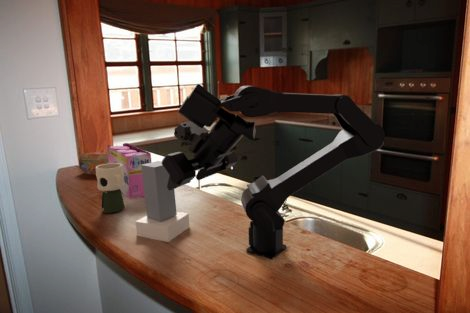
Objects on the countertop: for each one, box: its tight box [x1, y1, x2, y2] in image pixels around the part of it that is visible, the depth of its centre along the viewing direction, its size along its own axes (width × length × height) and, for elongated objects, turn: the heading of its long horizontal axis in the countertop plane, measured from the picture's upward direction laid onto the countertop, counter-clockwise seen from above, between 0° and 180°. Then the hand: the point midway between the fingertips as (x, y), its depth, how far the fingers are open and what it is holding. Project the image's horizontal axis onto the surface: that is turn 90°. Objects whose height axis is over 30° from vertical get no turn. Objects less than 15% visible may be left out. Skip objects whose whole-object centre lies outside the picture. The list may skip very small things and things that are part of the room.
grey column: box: [141, 160, 178, 222], centre depth 89 cm, size 5×5×13 cm
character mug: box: [95, 163, 126, 214], centre depth 105 cm, size 11×7×13 cm, turn 45°
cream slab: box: [135, 211, 190, 243], centre depth 91 cm, size 9×9×4 cm
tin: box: [78, 152, 108, 176], centre depth 146 cm, size 15×3×8 cm, turn 73°
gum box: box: [106, 142, 152, 200], centre depth 126 cm, size 24×8×14 cm, turn 34°
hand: (183, 183), depth 84 cm, fingers open, 9 cm apart
